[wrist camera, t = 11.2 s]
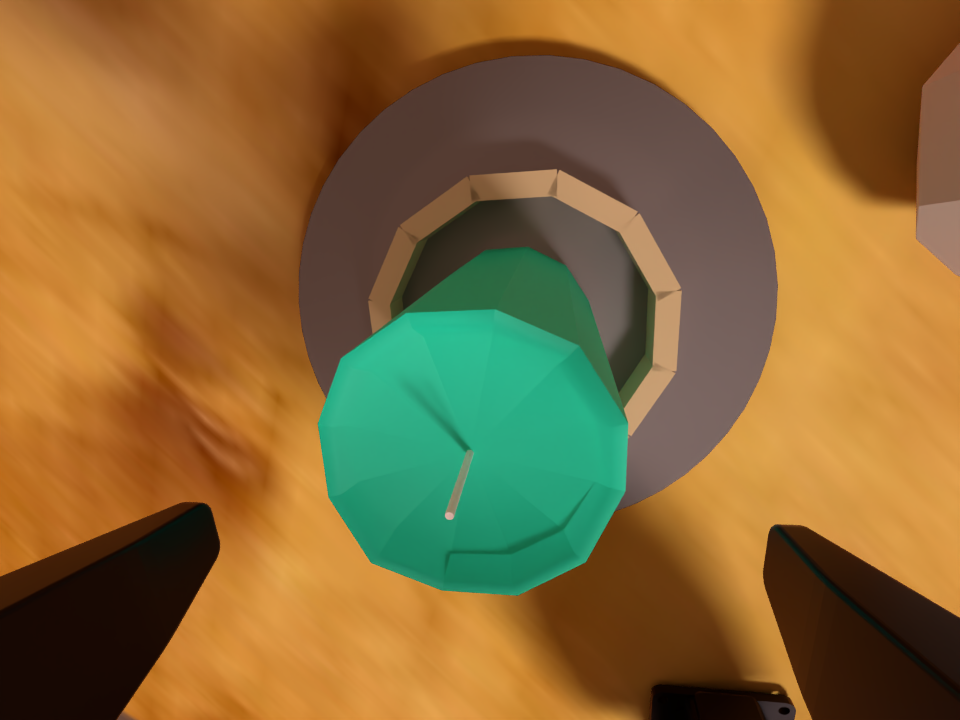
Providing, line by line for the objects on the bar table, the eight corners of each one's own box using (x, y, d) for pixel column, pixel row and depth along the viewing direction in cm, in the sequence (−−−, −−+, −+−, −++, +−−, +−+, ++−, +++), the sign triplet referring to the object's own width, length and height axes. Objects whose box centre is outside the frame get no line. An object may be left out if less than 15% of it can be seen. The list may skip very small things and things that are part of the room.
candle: (518, 425, 20) (473, 715, 9) (405, 330, 20) (204, 512, 8) (626, 319, 18) (741, 519, 7) (504, 209, 18) (415, 236, 6)
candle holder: (739, 517, 21) (762, 557, 19) (343, 503, 24) (321, 537, 22) (798, 33, 16) (840, 5, 13) (273, 89, 18) (232, 74, 16)
